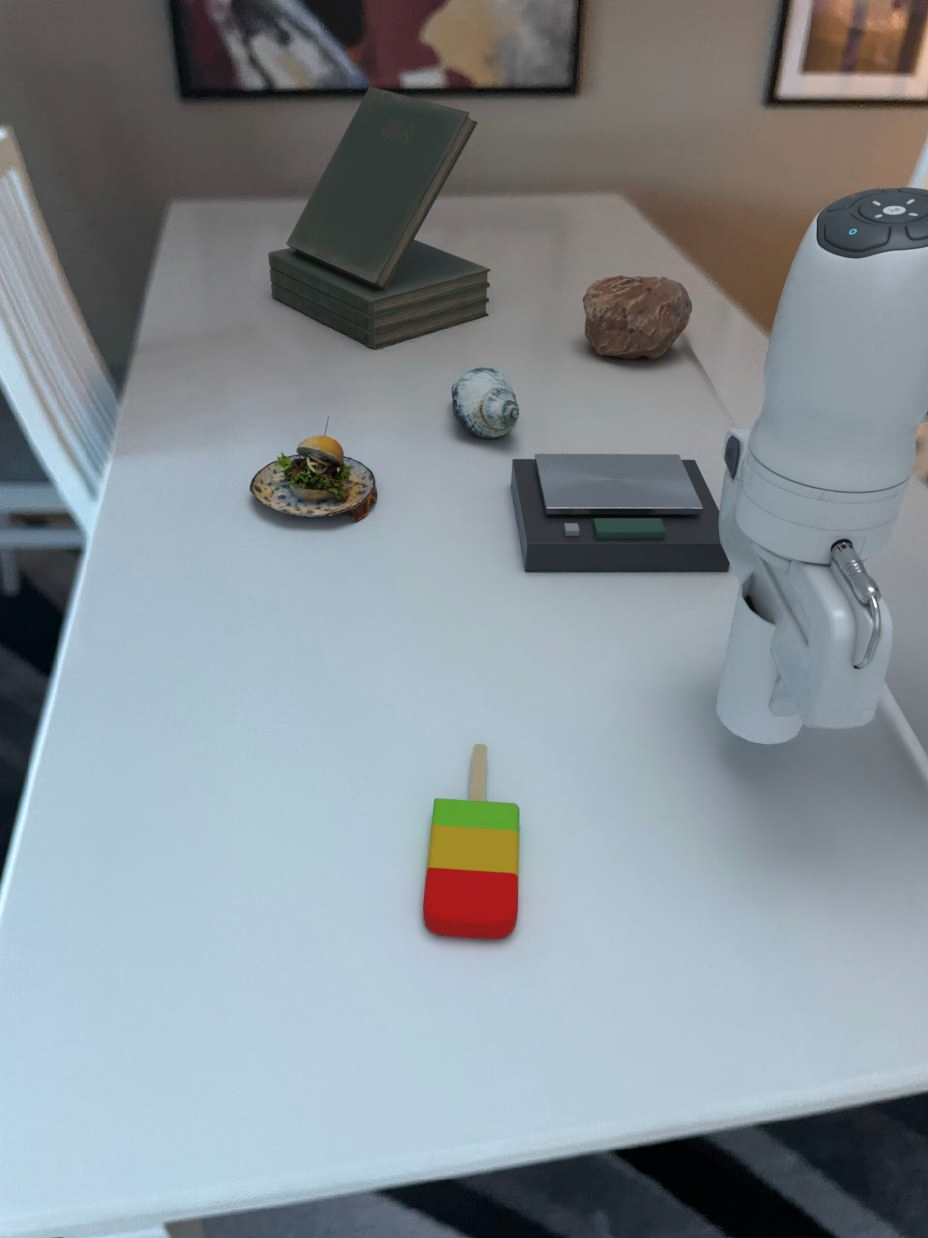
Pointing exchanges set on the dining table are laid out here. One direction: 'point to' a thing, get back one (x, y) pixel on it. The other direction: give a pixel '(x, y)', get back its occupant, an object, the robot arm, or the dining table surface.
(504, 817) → the popsicle
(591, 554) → the scale
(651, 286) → the decorative rock
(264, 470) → the burger
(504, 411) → the seashell
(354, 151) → the stack of books
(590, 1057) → the dining table surface
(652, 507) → the scale pan
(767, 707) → the white hollow cylinder
